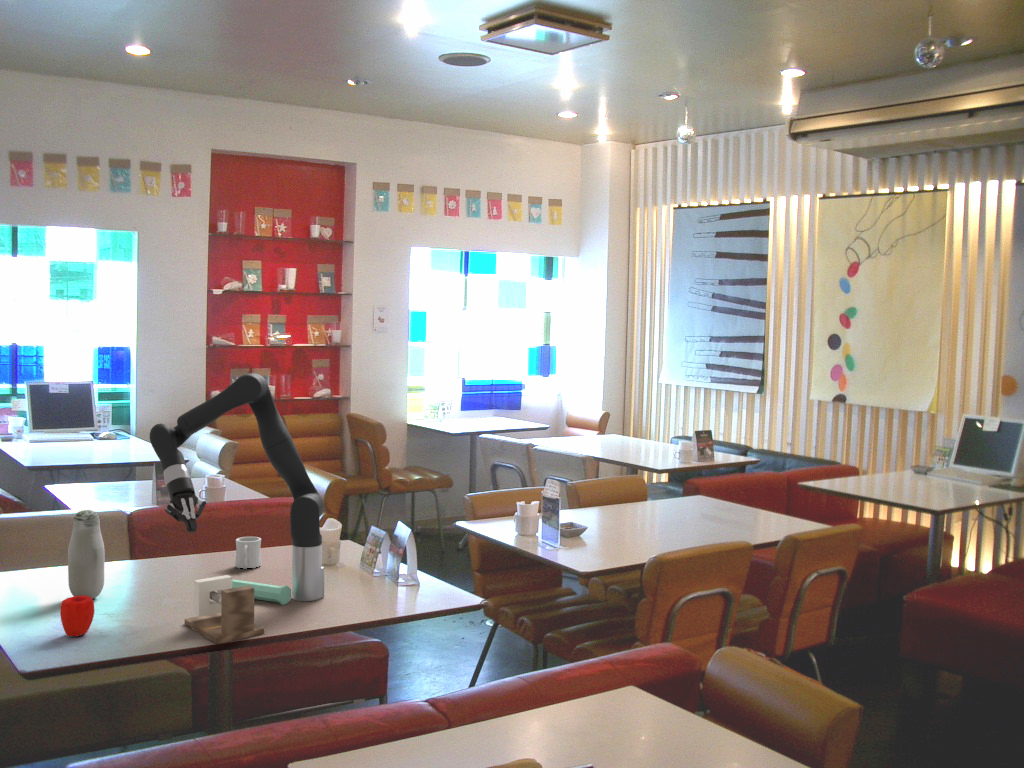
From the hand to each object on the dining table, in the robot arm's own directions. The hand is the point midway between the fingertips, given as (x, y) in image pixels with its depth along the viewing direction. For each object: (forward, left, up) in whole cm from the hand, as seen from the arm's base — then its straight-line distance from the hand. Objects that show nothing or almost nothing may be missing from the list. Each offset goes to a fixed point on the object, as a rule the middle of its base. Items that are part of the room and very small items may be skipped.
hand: (193, 531), depth 292 cm
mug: (-35, -37, -24) cm, 56 cm away
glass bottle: (+22, -30, -24) cm, 44 cm away
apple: (+35, +5, -24) cm, 43 cm away
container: (-22, -1, -21) cm, 31 cm away
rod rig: (+1, +24, -24) cm, 34 cm away
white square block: (+1, +17, -21) cm, 27 cm away
